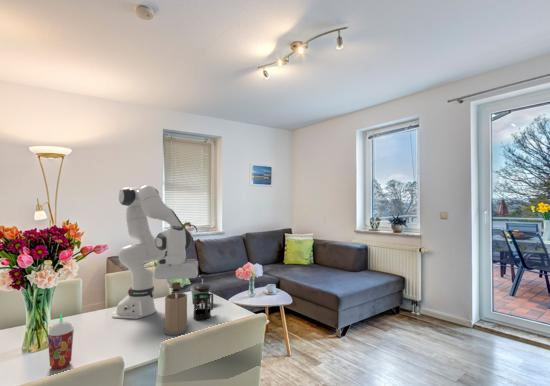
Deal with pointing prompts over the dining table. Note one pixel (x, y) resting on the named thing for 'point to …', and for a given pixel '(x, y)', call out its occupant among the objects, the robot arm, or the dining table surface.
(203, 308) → the french press
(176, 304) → the kraft paper canister
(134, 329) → the dining table surface
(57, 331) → the smoothie
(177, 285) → the plunger
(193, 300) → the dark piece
